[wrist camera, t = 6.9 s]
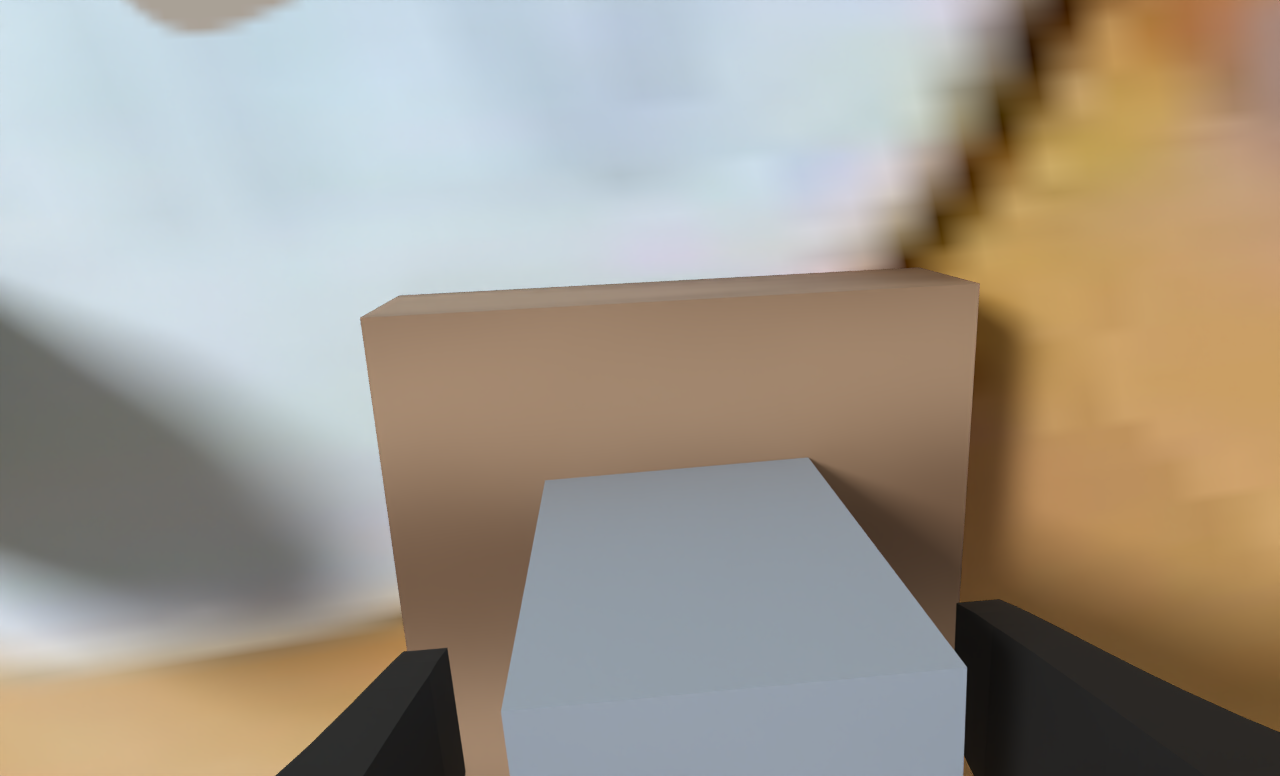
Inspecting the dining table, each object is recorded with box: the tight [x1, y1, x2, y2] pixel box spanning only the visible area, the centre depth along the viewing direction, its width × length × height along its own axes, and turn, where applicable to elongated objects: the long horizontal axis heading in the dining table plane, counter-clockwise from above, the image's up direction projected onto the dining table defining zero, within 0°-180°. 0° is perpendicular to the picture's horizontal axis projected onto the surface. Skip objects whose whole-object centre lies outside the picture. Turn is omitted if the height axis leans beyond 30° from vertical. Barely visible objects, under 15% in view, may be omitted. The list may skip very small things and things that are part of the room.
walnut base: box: [360, 268, 980, 776], centre depth 15 cm, size 10×10×3 cm
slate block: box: [501, 458, 967, 776], centre depth 11 cm, size 4×4×6 cm
